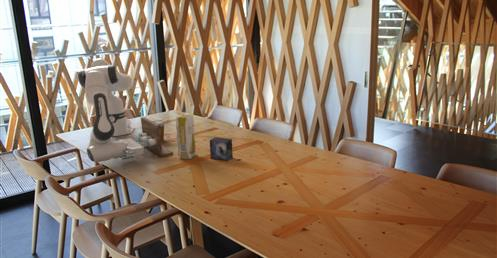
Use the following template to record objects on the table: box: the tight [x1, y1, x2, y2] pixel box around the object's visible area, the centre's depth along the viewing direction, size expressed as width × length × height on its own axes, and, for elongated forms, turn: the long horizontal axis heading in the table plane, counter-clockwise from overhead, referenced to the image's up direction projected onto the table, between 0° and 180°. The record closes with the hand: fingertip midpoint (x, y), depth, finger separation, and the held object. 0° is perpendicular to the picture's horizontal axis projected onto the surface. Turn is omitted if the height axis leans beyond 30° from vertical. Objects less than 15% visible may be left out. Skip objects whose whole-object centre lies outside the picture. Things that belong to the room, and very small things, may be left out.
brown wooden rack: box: [140, 116, 174, 159], centre depth 236 cm, size 8×23×18 cm, turn 34°
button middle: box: [136, 136, 152, 142], centre depth 232 cm, size 8×4×4 cm, turn 124°
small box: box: [209, 136, 234, 162], centre depth 222 cm, size 11×6×10 cm, turn 62°
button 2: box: [145, 138, 157, 147], centre depth 228 cm, size 8×4×4 cm, turn 124°
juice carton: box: [175, 112, 196, 160], centre depth 224 cm, size 9×8×24 cm
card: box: [121, 154, 134, 160], centre depth 233 cm, size 6×12×1 cm, turn 34°
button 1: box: [138, 132, 147, 137], centre depth 240 cm, size 8×4×4 cm, turn 124°
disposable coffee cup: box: [152, 119, 166, 142], centre depth 256 cm, size 10×10×12 cm
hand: (146, 143), depth 226 cm, fingers closed, pressing on button 2
